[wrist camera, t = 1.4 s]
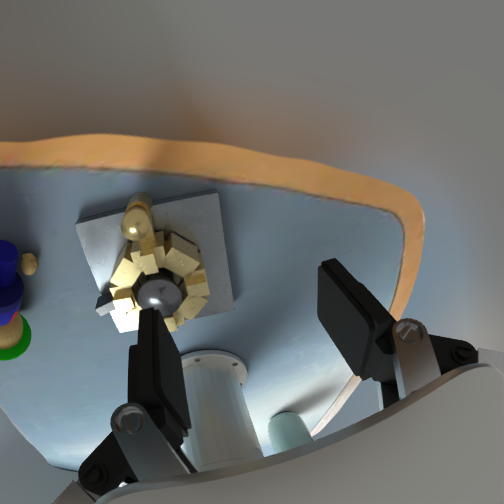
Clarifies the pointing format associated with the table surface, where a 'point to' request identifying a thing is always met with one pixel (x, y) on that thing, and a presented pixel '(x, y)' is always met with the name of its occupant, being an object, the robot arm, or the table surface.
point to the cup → (287, 432)
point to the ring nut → (156, 264)
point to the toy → (13, 301)
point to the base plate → (165, 281)
